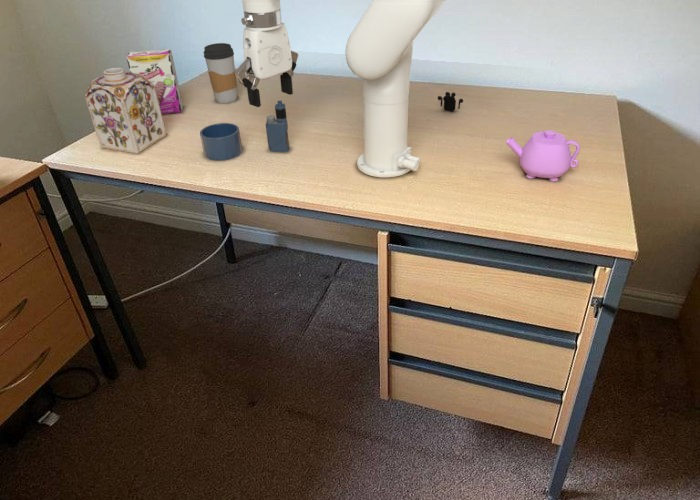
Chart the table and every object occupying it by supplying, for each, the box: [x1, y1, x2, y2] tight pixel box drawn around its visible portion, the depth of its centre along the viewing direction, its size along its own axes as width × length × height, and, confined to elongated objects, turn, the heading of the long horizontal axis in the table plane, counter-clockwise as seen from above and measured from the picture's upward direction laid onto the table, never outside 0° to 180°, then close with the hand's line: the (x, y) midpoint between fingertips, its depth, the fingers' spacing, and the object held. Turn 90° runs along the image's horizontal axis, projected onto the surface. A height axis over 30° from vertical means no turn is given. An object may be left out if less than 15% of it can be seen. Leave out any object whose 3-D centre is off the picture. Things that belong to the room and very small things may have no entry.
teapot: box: [505, 129, 581, 182], centre depth 113 cm, size 10×15×9 cm
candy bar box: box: [125, 48, 184, 115], centre depth 147 cm, size 11×5×16 cm, turn 100°
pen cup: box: [199, 122, 243, 162], centre depth 127 cm, size 9×9×6 cm
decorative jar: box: [84, 67, 167, 154], centre depth 131 cm, size 12×12×18 cm
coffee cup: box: [203, 42, 238, 104], centre depth 154 cm, size 8×8×15 cm
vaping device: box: [265, 100, 290, 153], centre depth 125 cm, size 3×5×12 cm, turn 79°
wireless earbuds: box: [437, 91, 464, 112], centre depth 143 cm, size 7×2×5 cm, turn 64°
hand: (271, 99), depth 122 cm, fingers open, 9 cm apart
